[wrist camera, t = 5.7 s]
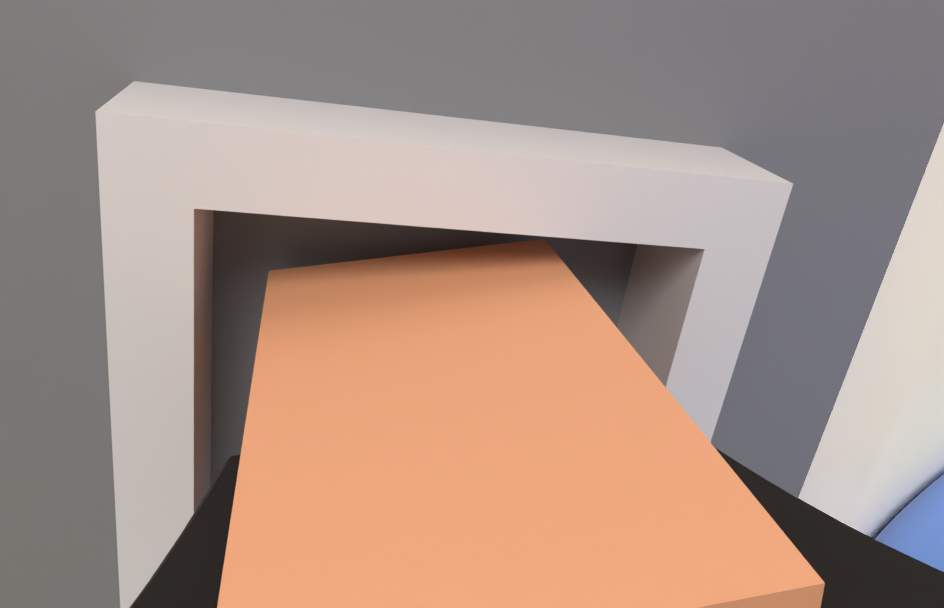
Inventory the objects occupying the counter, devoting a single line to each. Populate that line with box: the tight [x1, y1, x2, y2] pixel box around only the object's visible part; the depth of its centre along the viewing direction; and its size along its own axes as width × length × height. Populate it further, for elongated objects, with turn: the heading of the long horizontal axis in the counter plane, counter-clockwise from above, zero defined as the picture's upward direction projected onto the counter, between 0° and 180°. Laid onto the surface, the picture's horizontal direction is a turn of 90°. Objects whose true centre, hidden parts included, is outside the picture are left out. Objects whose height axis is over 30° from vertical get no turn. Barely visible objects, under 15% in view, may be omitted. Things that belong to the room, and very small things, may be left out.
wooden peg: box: [217, 239, 825, 608], centre depth 9 cm, size 4×4×7 cm
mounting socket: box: [0, 0, 944, 608], centre depth 12 cm, size 16×14×3 cm
